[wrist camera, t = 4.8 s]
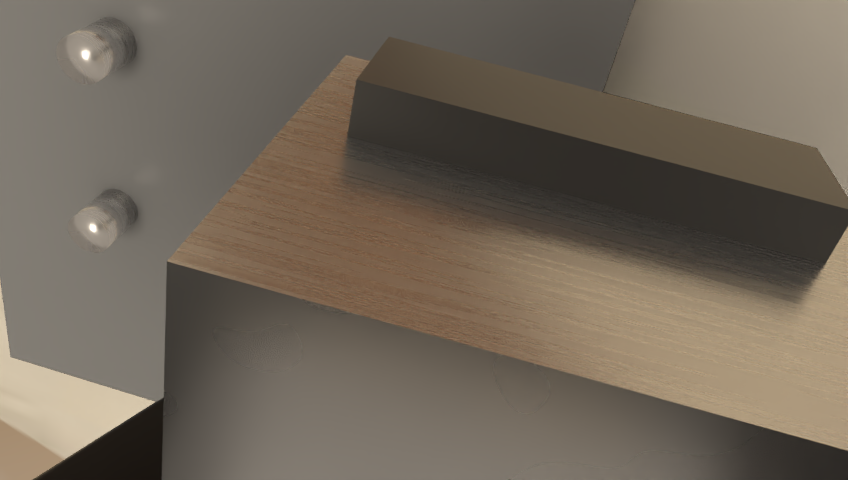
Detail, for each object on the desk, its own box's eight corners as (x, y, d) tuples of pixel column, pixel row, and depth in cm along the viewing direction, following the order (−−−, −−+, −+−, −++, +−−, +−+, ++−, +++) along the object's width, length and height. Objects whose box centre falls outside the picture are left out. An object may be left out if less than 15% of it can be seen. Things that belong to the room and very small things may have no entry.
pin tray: (692, -178, 15) (706, -169, 13) (463, 471, 26) (450, 532, 24) (-50, -363, 16) (-147, -382, 14) (29, 338, 27) (-19, 386, 25)
